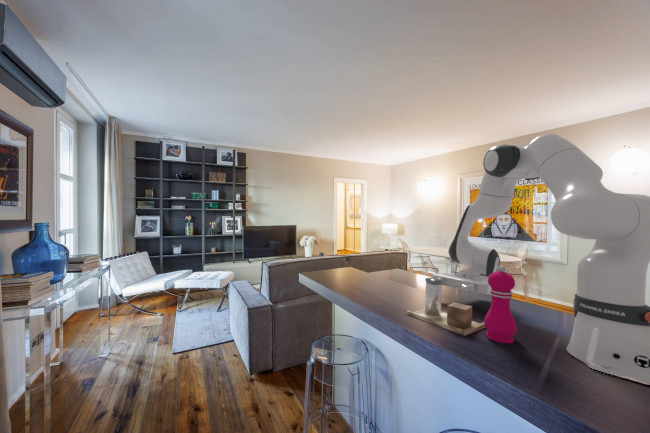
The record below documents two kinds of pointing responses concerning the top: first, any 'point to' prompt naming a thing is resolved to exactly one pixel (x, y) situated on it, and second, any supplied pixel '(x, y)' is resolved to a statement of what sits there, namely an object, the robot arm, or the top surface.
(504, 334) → the pepper mill
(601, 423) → the top surface
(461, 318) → the walnut block
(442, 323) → the board
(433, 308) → the canister
